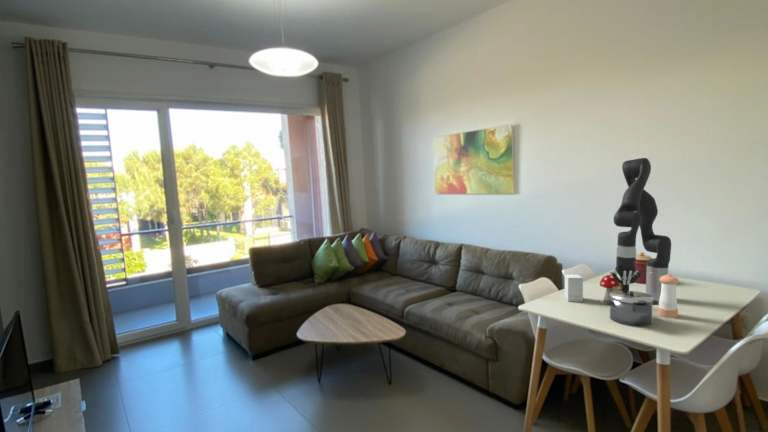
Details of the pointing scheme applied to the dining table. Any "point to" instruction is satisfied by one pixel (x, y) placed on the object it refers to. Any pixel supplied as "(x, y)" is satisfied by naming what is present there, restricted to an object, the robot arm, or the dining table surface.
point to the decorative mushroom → (608, 285)
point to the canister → (641, 266)
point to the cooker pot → (631, 313)
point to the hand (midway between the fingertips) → (624, 292)
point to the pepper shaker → (668, 297)
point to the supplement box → (574, 288)
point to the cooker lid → (630, 296)
